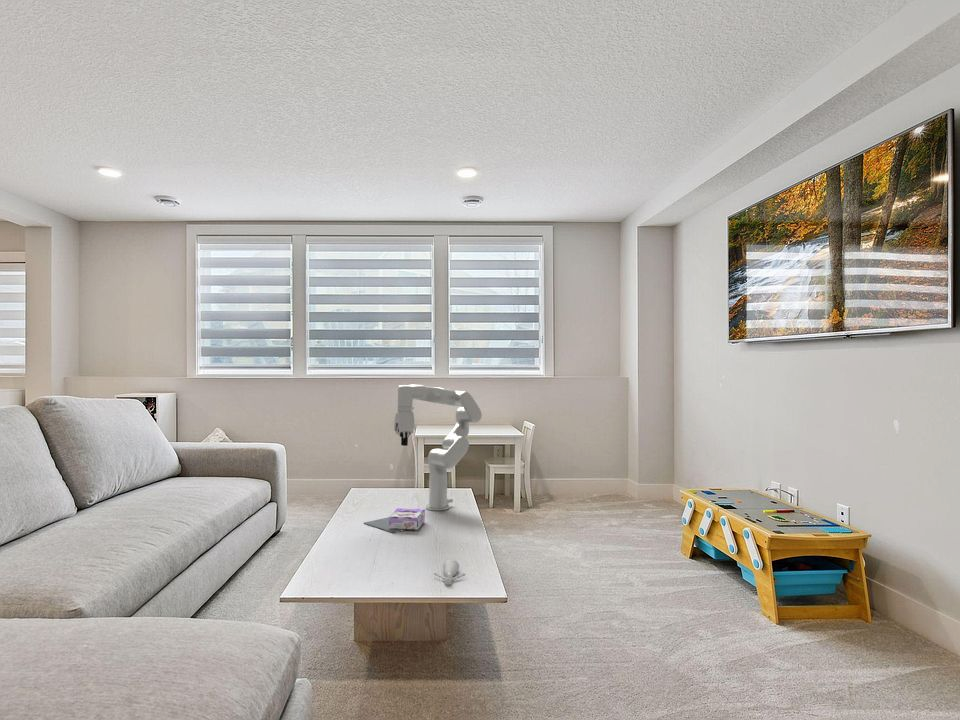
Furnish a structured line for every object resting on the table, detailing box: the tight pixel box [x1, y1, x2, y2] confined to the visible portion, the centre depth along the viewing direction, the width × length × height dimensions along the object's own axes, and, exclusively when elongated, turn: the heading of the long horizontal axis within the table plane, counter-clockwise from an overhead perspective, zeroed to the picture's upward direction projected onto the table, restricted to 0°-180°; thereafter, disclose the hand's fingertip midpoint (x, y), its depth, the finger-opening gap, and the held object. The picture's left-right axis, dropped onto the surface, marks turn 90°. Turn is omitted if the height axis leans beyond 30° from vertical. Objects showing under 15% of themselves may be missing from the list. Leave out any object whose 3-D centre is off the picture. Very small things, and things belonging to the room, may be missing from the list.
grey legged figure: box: [433, 558, 467, 586], centre depth 211 cm, size 12×4×18 cm
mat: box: [363, 516, 406, 534], centre depth 279 cm, size 17×22×1 cm
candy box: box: [388, 507, 426, 531], centre depth 277 cm, size 14×6×16 cm
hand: (404, 445), depth 300 cm, fingers closed
